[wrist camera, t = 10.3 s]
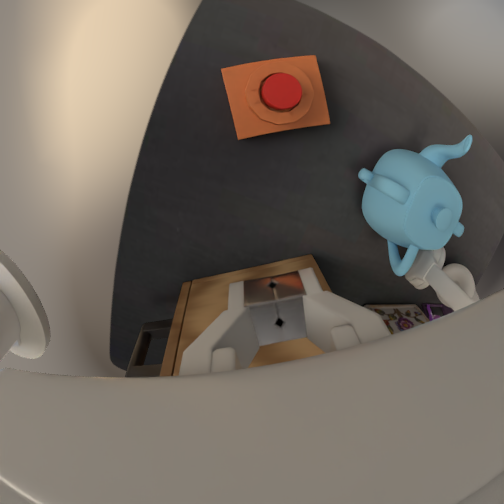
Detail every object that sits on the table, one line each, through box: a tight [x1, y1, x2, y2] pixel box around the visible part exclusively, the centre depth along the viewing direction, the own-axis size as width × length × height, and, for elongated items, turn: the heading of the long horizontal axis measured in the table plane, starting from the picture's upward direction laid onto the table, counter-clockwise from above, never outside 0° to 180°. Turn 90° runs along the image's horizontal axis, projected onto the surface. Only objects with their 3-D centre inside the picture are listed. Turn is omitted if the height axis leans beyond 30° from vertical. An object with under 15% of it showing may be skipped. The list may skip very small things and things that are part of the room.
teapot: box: [358, 135, 472, 276], centre depth 27 cm, size 13×14×11 cm
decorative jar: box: [364, 304, 429, 335], centre depth 35 cm, size 12×12×18 cm
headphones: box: [405, 247, 480, 311], centre depth 28 cm, size 7×18×20 cm, turn 63°
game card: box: [422, 303, 454, 321], centre depth 40 cm, size 7×5×9 cm
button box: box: [221, 55, 330, 140], centre depth 24 cm, size 10×8×4 cm
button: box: [262, 73, 302, 110], centre depth 22 cm, size 4×4×2 cm
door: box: [125, 281, 192, 377], centre depth 31 cm, size 7×22×22 cm, turn 12°
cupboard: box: [173, 254, 332, 376], centre depth 30 cm, size 16×22×22 cm
